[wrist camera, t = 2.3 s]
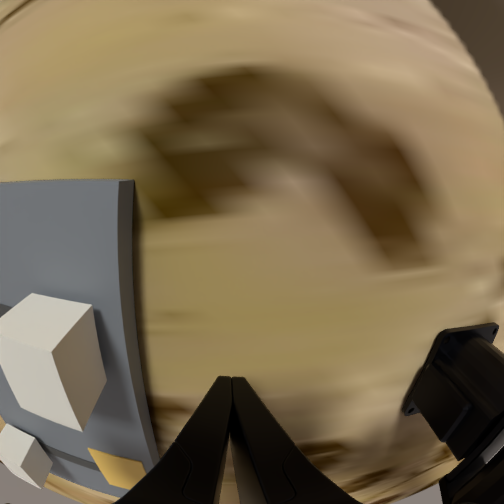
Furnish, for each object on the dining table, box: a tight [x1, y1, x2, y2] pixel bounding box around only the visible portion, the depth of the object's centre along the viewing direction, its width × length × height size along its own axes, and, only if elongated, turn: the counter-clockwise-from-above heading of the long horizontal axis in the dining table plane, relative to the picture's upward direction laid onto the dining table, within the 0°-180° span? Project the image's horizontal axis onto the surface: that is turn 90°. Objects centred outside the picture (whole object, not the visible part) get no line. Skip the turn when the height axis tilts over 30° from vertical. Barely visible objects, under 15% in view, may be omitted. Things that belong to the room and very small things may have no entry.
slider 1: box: [0, 424, 53, 489], centre depth 10 cm, size 3×4×3 cm
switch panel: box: [0, 179, 160, 498], centre depth 11 cm, size 13×24×2 cm, turn 174°
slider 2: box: [0, 293, 107, 432], centre depth 7 cm, size 3×4×3 cm
